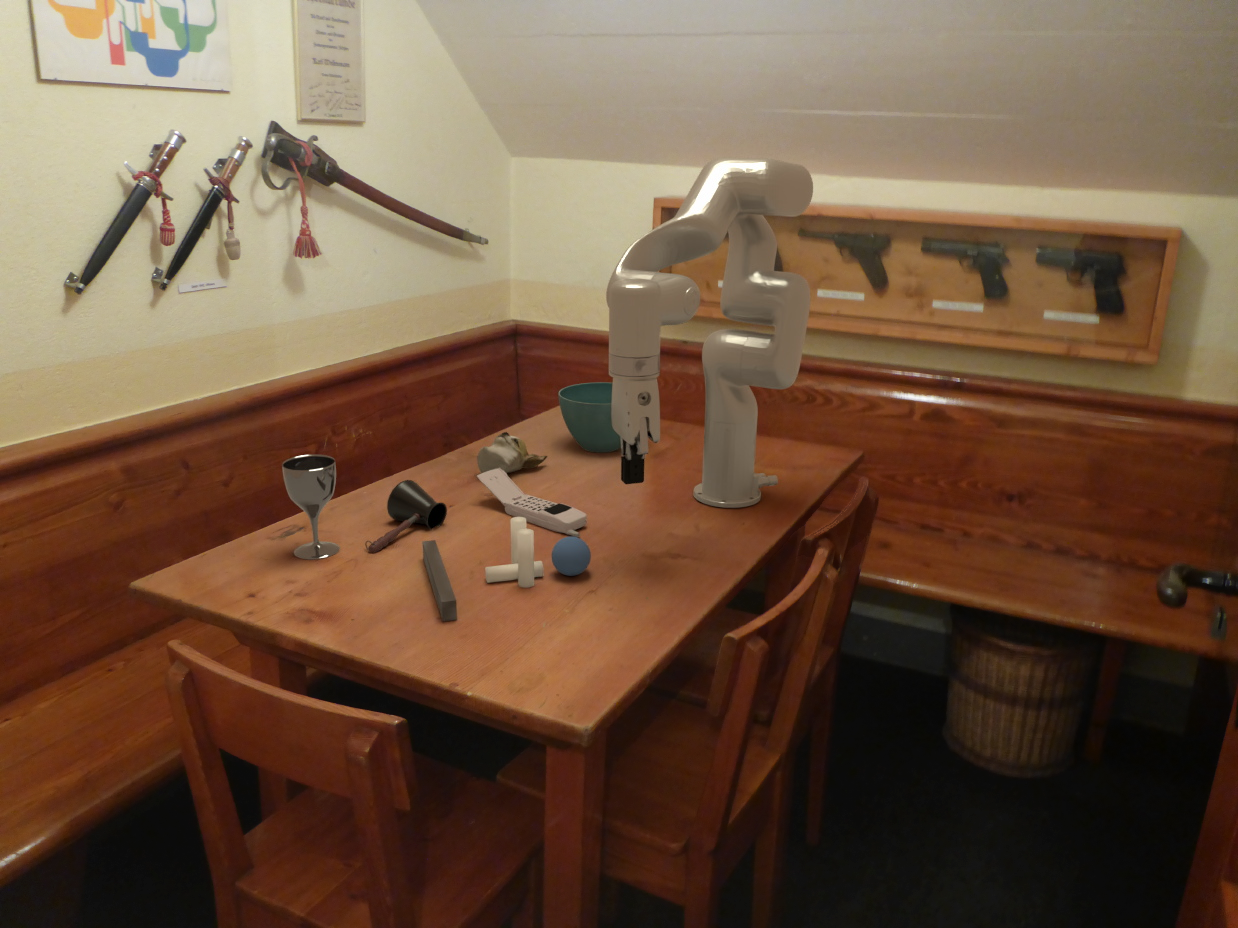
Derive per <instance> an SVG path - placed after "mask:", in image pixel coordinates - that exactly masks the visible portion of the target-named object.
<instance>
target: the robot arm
mask: <svg viewBox="0 0 1238 928" xmlns="http://www.w3.org/2000/svg"><path fill="white" fill-rule="evenodd" d="M813 193H814V182H813V178H812V176H811V173H810V171H809V170H808V169H807V167H805V166H804V165H801V164H798V163H793V162H788V161H783V160H779V159H773V158H766V157H765V158H763V157H737V156H736V157H731V156H730V157H726V156H724V157H718V158H713V159H711V160H710V161H708V162H707V163H706V164H705V165H704V167H702V169H701V170H700V172H699V174H698V175H697V178H696V179H695V181H694V182H693V184H692V186H691V188H690V189H689V191H688V193H687V195H686V197H685V198H684V200H683V202H682V203H681V205H680V207H679V208H678V210H677V212H676V214H675V216H674V217H672V218H671V219H669V220H667V221H665V222H663V223H662V224H659V225H658V226H656V227H655V228H652V229H651V230H650V231H648V232H647V233H645V234H643V235H641V236H640V237H639V238H637V239H636V240H635V241H634V242H632V243H631V244H630V246H629V247H628V248H626V250H625V251H624V253H623V254H622V256H621V258H620V259H619V261H618V263H617V264H616V266H615V268H614V270H613V271H612V273H611V276H610V278H609V280H608V283H607V286H606V293H605V295H606V297H605V298H606V304H607V306H608V376H610V377H612V383H613V385H612V404H611V418H612V427H613V429H614V430H615V432H616V433H617V434H618V435H619V436H620V441H621V448H620V454H621V456H620V481H622V482H623V484H625V485H633V484H643V483H644V481H645V459H646V455H649V440H650V441H651V442H653V444H658V443H659V442H660V441H661V408H660V392H659V384H658V377H659V376H660V371H661V370H660V369H661V366H660V365H661V329H662V328H661V327H664V326H679V325H683V324H685V323H687V322H689V321H691V320H692V318H694V316H695V315H696V314H697V313H698V310H699V307H700V304H701V291H700V288H699V287H698V284H697V283H696V282H695V281H694V280H693V278H690V277H689V276H685V275H683V274H679V273H669V272H660V271H662V270H663V269H666V268H668V267H672V266H674V265H677V264H682V263H685V262H689V261H693V260H696V259H700V258H703V257H706V256H708V255H711V254H713V253H714V252H716V251H717V250H718V249H719V248H720V247H721V245H722V243H723V242H724V239H725V237H726V235H727V233H728V241H729V242H728V243H729V244H728V251H727V255H726V256H727V258H726V261H725V268H724V274H723V280H722V286H721V293H720V301H719V303H720V311H721V313H722V315H723V317H725V318H726V319H728V320H731V321H734V322H739V323H745V324H754V325H761V326H768V327H769V326H771V327H774V333H769V332H760V331H754V330H745V329H737V328H722V329H718V330H715V331H713V332H712V333H710V334H709V335H708V336H707V337H706V339H705V340H704V342H703V346H702V350H701V360H702V361H701V362H702V367H703V368H702V369H703V374H704V375H703V376H704V386H705V406H704V407H705V412H704V429H703V430H704V432H703V433H704V434H703V455H702V456H703V457H702V481H701V482H700V483H698V484H697V485H695V486H694V488H693V497H694V498H695V499H696V501H699V502H701V503H703V504H704V505H707V506H711V507H716V508H718V507H719V508H724V509H725V508H727V509H737V508H739V509H740V508H746V507H750V506H753V505H756V504H757V503H759V502H760V501H761V498H762V491H761V490H760V489H763V487H764V486H765V487H766V486H767V487H772V486H777V485H778V480H779V479H778V477H777V475H776V474H774V475H766V474H765V473H764V472H760V473H759V472H758V473H756V472H755V461H756V460H755V459H756V448H757V447H756V446H757V445H756V444H757V428H758V427H757V426H758V414H759V413H758V412H759V411H758V410H759V409H758V403H757V400H756V397H755V395H754V392H753V391H752V389H751V387H750V386H752V387H757V388H765V389H772V390H786V389H788V388H790V387H791V386H792V385H793V384H794V383H795V381H796V379H797V377H798V374H799V371H800V367H801V362H802V357H803V350H804V345H805V339H806V333H807V327H808V323H809V316H810V309H811V297H812V296H811V290H810V289H811V288H810V285H809V283H808V281H807V280H806V278H805V277H803V276H802V275H801V274H799V273H795V272H791V271H790V272H789V271H778V270H775V263H776V256H777V251H778V241H777V239H776V235H775V233H774V230H773V229H772V227H771V225H770V224H769V222H768V221H767V219H766V218H765V216H772V217H773V216H775V217H793V218H794V217H799V216H800V215H802V214H803V213H805V212H806V211H807V209H808V208H809V206H810V204H811V202H812V199H813Z"/></svg>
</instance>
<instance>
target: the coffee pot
mask: <svg viewBox="0 0 1238 928" xmlns="http://www.w3.org/2000/svg"><path fill="white" fill-rule="evenodd" d="M386 505H387V506H386V508H387V509H386V510H387V514H388V515H389V517H390V518H391V519H392V520H394V521H398V522H402V523H400V524H399V525H398V526H397V527H396V528H394V529H392V530H389V531H388V532H386V533H384V535H382V536H380V537H379V538H377V539H376V540H374V541H373V542H372V541H370V540H366V541H365V543H364V544H365V548H366V550H367V551H368V552H369V553H371V554H375V553H377V552H380V551H382V549H383V548H385V547H387V546H388V544H389V543H392V542H393V541H394V540H395V539H396V538H397V537H398V536H399V535H400V534H401V532H404V531H406V530H407V529H409V528H410V527H411V526H412V524H421V525H426V526H427V527H428V529H429V530H434V529H435V528H437V527H440V526H442V525H443V523H444V522H445V520H446V517H447V515H448V509H447V505H446V504H445V503H444V502H437V501H436V500H435V499H434V498H433V497H432V496H431V495H430V494H429V493H428V492H426V491H425V490H424V489H423V488H422V486H420V485H419V484H418V483H417V482H415V481H414V480H411V479H406V480H402V481H400V482H399V483H398V484H396V485H395V486H394V488H393V489H392V490H391V491H390V494H389V496H388V499H387V502H386ZM367 543H370V544H369V546H368V545H367Z"/></svg>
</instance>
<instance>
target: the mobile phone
mask: <svg viewBox="0 0 1238 928" xmlns="http://www.w3.org/2000/svg"><path fill="white" fill-rule="evenodd" d="M476 477H477V478H478V480H479V481H480V482H481V483H482V484H483V485H484V487H485V488H486V489H487V490H489V492H490V493H491V494H492V495H493V496H494V497H495V498H496V499H497V500H498V501H499V502H500V503H501V504H502V505H503V506H504V511H505V513H506V514H507V515H510V516H513V517H524V518H526V523H527V522H528V523H530V524H533V525H536V526H539V527H542V528H545V529H547V530H550V531H553V532H556V533H562V534H565V535H568V536H572V537H577V538H580V536H581V533H580V532H578V531H576V530H577V529H580V528H582V527H585V526H586V525H587V523H588V521H587V519H588V517H587V513H586V512H583V511H582V510H579V509H578V508H576V507H573V506H570V505H568V504H565V503H562V502H559V503H556V502H553V501H551V500H546V499H543V498H540V497H536V496H532V495H531V494H530V495H529V494H528V493H527V494H525V493H524V491H522V490H521V489H520V487H519V486H518V485H516V483H515V482H514V481H513V480H512V479H511V478H510V477H509V475H508V473H505V472H504V471H503V470H501V469H500V468H497V469H493V470H490V471H487V472H484V473H481V472H480V473H479V474H477V475H476Z"/></svg>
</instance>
